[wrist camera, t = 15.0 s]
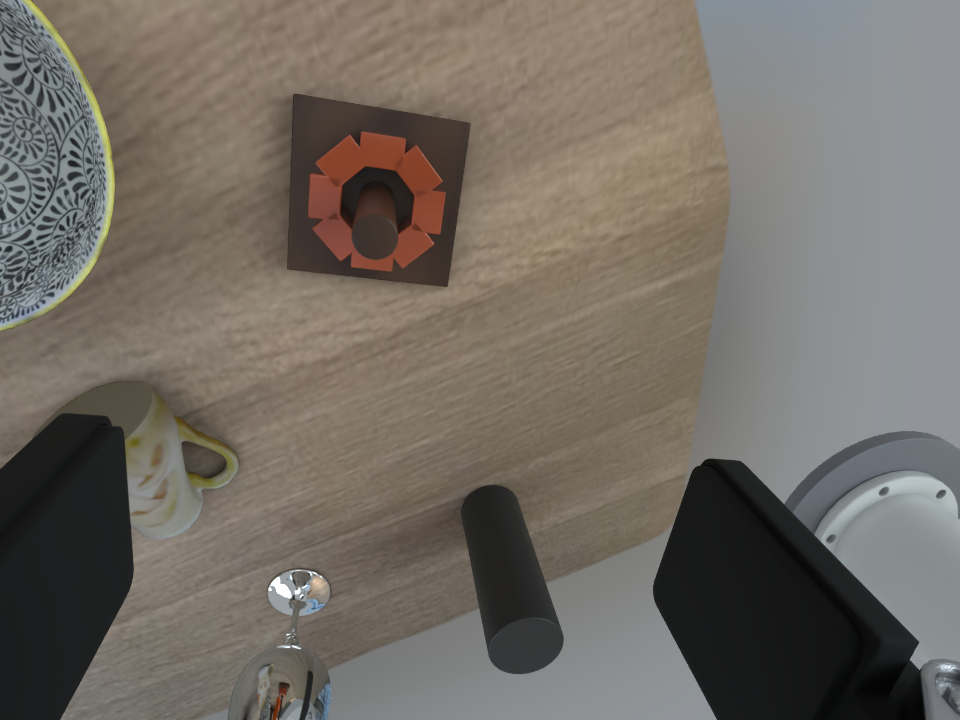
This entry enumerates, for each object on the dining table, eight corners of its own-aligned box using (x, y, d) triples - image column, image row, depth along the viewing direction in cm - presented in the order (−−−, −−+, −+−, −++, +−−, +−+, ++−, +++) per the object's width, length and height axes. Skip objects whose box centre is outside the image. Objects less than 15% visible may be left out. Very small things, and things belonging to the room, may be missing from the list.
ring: (448, 142, 32) (452, 145, 30) (432, 267, 34) (434, 277, 32) (316, 121, 30) (311, 123, 28) (309, 253, 33) (305, 262, 31)
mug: (148, 530, 40) (5, 584, 30) (132, 385, 40) (-15, 392, 30) (250, 520, 39) (136, 574, 29) (233, 371, 39) (114, 374, 29)
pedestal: (523, 486, 43) (571, 617, 32) (512, 533, 44) (555, 674, 33) (465, 483, 42) (495, 618, 31) (457, 531, 44) (482, 675, 33)
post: (467, 122, 32) (507, 133, 22) (445, 281, 36) (470, 353, 26) (296, 93, 31) (254, 92, 21) (290, 264, 34) (251, 334, 24)
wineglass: (258, 623, 44) (219, 794, 33) (256, 562, 42) (213, 724, 31) (338, 620, 45) (324, 786, 34) (340, 561, 43) (326, 717, 32)
